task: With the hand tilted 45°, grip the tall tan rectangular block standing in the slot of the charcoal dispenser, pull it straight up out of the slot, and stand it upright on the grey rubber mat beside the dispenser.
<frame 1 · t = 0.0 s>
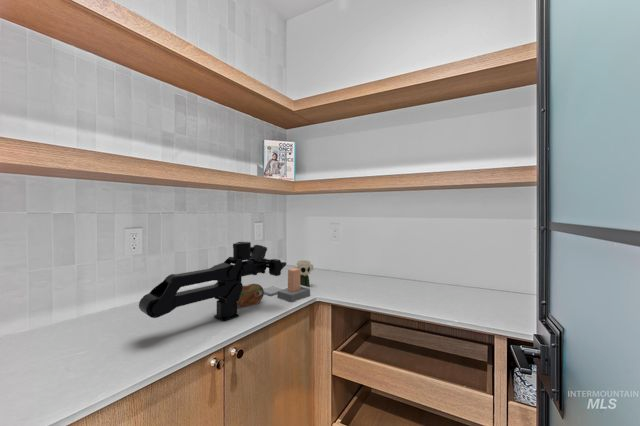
hand: (278, 262, 120), 17 cm above the worktop, tool horizontal, fingers open, 9 cm apart
mat: (271, 292, 131), on the worktop
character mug: (303, 287, 141), on the worktop
tan rectangular block: (293, 296, 125), resting in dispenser
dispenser: (293, 296, 125), on the worktop
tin: (245, 305, 113), on the worktop
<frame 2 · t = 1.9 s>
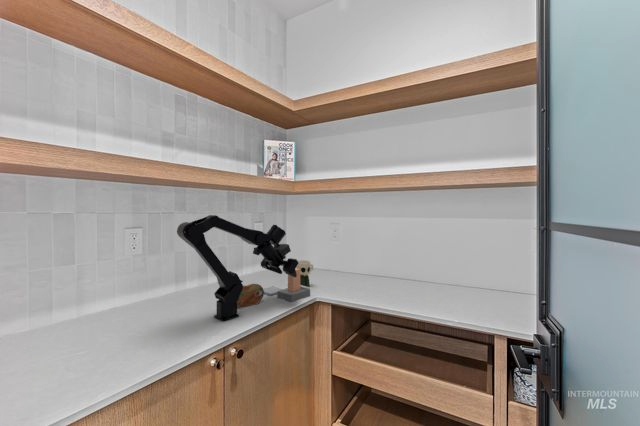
hand: (288, 274, 122), 11 cm above the worktop, tool tilted 45°, fingers open, 9 cm apart
nothing on the worktop moved.
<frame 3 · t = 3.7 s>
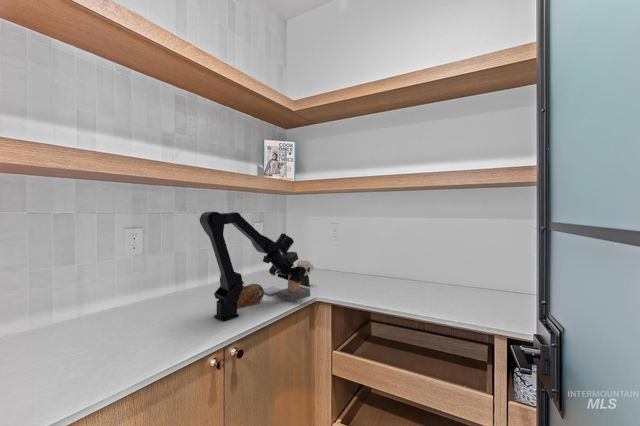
hand: (296, 281, 126), 7 cm above the worktop, tool tilted 45°, fingers closed on tan rectangular block, 3 cm apart
tan rectangular block: (294, 296, 125), resting in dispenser, touching gripper
everything else where it was.
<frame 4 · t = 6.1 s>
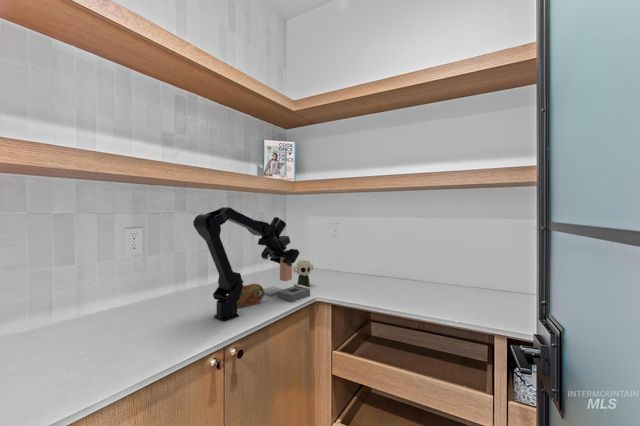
hand: (287, 265, 129), 14 cm above the worktop, tool tilted 45°, fingers closed on tan rectangular block, 3 cm apart
tan rectangular block: (285, 279, 128), point 7 cm above the worktop, touching gripper
everything else where it was.
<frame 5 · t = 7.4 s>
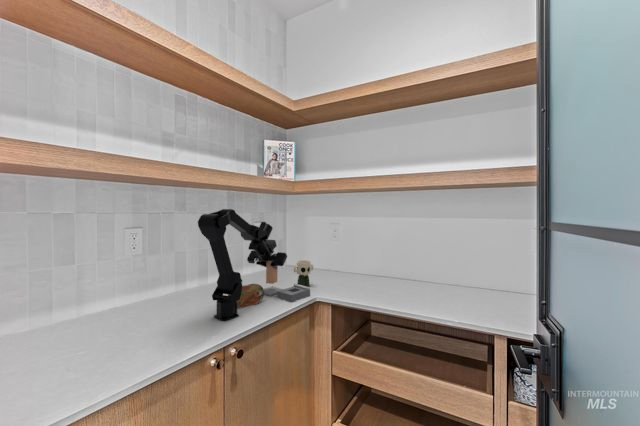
hand: (273, 268, 132), 11 cm above the worktop, tool tilted 45°, fingers closed on tan rectangular block, 3 cm apart
tan rectangular block: (271, 282, 131), point 5 cm above the worktop, touching gripper
everything else where it was.
when the fingers open (9 cm above the worktop, at t = 8.6 s): tan rectangular block stays where it is, resting on mat.
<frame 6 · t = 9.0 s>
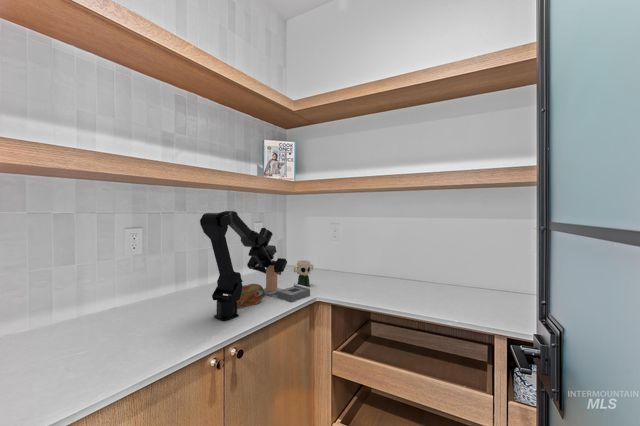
hand: (273, 273, 133), 9 cm above the worktop, tool tilted 45°, fingers open, 8 cm apart
tan rectangular block: (271, 289, 131), point 1 cm above the worktop, touching mat
everything else where it was.
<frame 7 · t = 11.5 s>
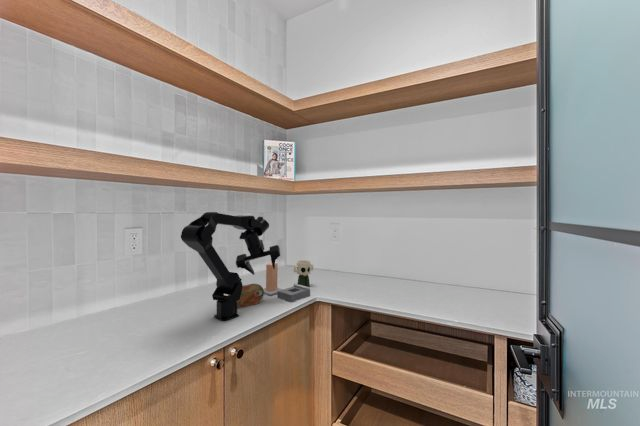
hand: (264, 271, 121), 12 cm above the worktop, tool tilted 30°, fingers open, 9 cm apart
nothing on the worktop moved.
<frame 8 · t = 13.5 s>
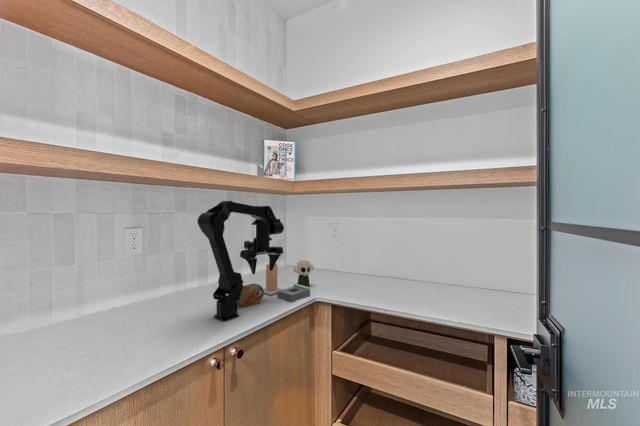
hand: (262, 272, 115), 13 cm above the worktop, tool pointing down, fingers open, 9 cm apart
nothing on the worktop moved.
at the end: tan rectangular block inside the target area on the mat (0.1 cm from its centre), point 1.0 cm above the mat's base; tan rectangular block tilted 0°; the gripper is holding nothing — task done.
